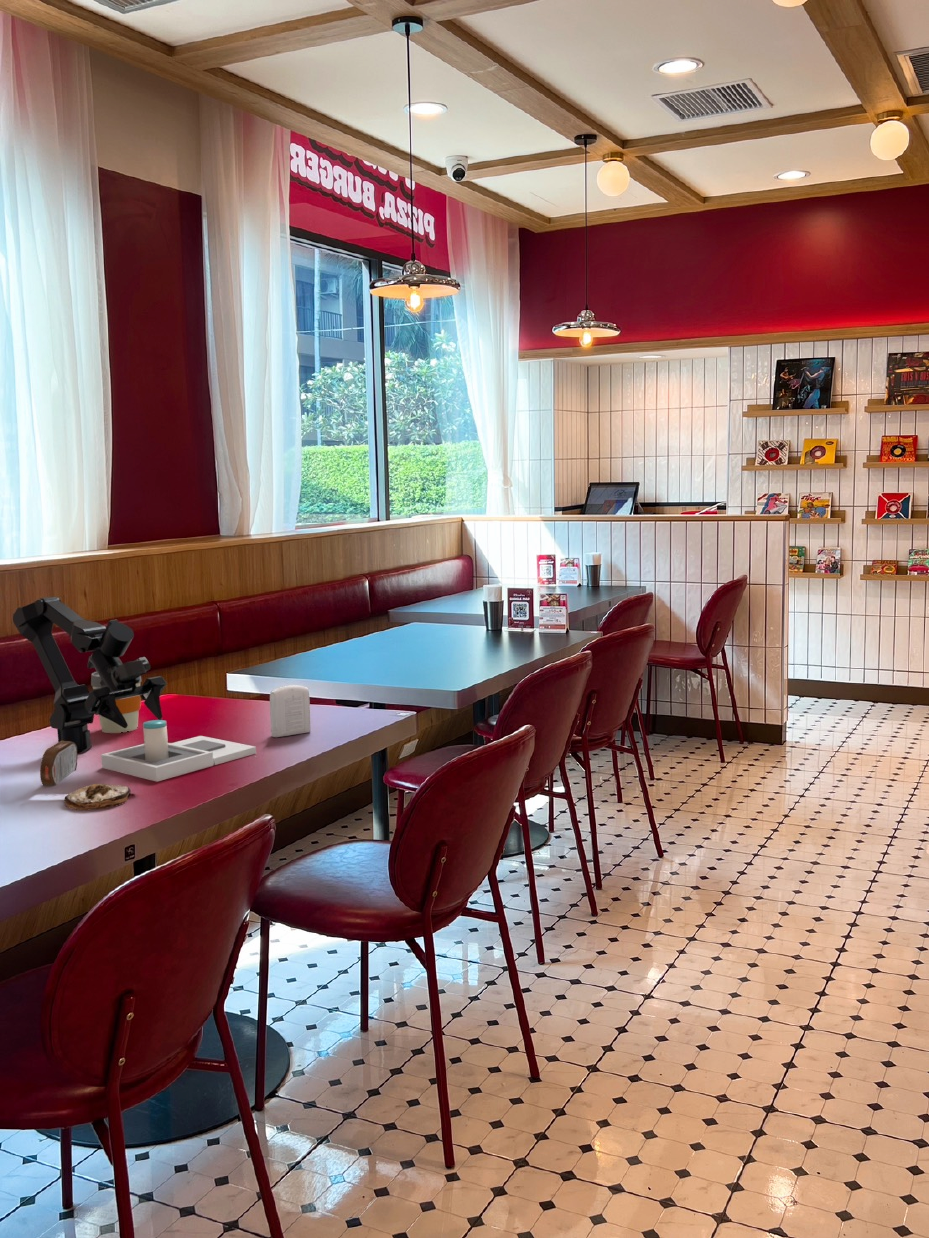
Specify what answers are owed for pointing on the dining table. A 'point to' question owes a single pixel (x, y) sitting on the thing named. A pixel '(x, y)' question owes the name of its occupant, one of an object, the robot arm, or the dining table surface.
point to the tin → (58, 762)
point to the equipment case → (176, 758)
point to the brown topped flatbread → (97, 797)
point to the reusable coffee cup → (126, 707)
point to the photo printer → (290, 710)
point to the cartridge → (155, 740)
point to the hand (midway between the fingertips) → (144, 722)
